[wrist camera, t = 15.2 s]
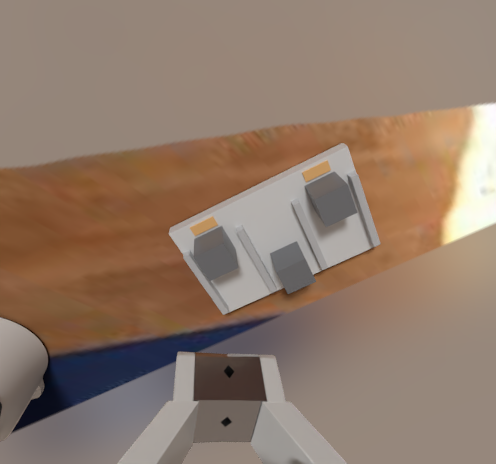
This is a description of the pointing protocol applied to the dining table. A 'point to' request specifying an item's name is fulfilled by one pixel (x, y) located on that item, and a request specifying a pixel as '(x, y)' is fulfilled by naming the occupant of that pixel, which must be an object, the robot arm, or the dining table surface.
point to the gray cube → (215, 253)
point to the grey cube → (331, 198)
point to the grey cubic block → (292, 267)
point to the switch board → (279, 229)
